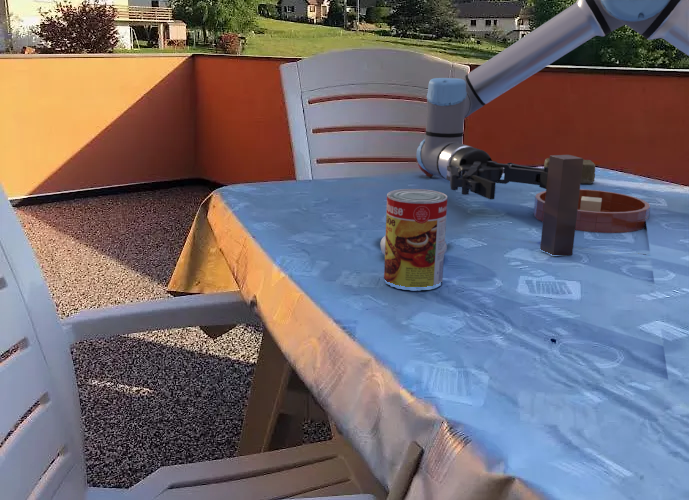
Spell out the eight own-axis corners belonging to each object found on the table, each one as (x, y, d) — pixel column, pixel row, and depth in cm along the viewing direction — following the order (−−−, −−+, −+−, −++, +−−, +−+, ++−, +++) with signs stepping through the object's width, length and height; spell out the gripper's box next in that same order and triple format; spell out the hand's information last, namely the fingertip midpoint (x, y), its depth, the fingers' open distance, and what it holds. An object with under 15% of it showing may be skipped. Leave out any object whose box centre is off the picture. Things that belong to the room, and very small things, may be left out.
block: (599, 216, 131) (601, 197, 130) (599, 220, 128) (601, 201, 127) (579, 214, 132) (581, 196, 131) (578, 218, 129) (580, 200, 128)
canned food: (384, 271, 100) (387, 187, 96) (441, 273, 99) (446, 189, 96) (382, 290, 92) (386, 200, 89) (443, 293, 92) (449, 202, 88)
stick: (558, 248, 112) (569, 154, 108) (572, 255, 109) (583, 158, 105) (539, 250, 111) (549, 155, 107) (553, 257, 108) (563, 159, 104)
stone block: (541, 177, 169) (544, 156, 168) (591, 180, 167) (594, 159, 166) (544, 182, 164) (546, 160, 162) (595, 185, 162) (598, 163, 160)
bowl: (644, 214, 135) (647, 194, 134) (648, 241, 117) (652, 217, 116) (539, 205, 141) (541, 185, 140) (527, 228, 124) (529, 206, 123)
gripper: (521, 182, 140) (590, 206, 120) (405, 189, 131) (459, 216, 112) (524, 144, 137) (595, 162, 118) (406, 148, 129) (462, 169, 110)
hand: (529, 188), depth 115 cm, fingers open, 13 cm apart
